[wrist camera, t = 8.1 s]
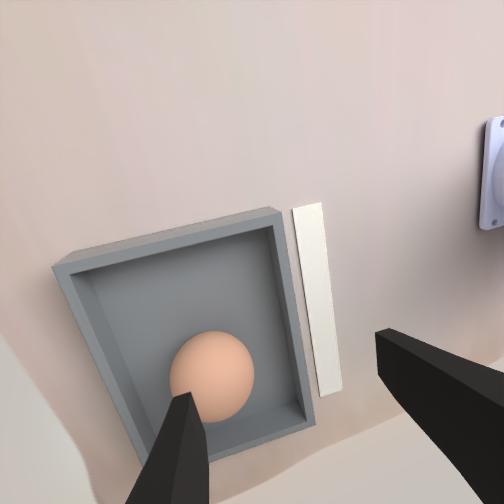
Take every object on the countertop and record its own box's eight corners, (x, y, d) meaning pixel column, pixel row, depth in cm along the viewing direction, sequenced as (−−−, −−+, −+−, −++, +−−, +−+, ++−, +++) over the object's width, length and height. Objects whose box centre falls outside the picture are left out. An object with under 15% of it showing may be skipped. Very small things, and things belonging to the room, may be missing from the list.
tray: (269, 206, 18) (281, 212, 15) (302, 397, 23) (315, 424, 20) (72, 252, 16) (51, 266, 14) (155, 447, 21) (150, 483, 19)
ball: (239, 308, 19) (256, 354, 14) (250, 368, 20) (269, 428, 16) (163, 327, 18) (155, 382, 13) (181, 388, 20) (179, 457, 15)
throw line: (320, 202, 18) (321, 202, 18) (342, 388, 24) (342, 389, 23) (292, 208, 18) (292, 209, 18) (320, 396, 23) (320, 397, 23)
